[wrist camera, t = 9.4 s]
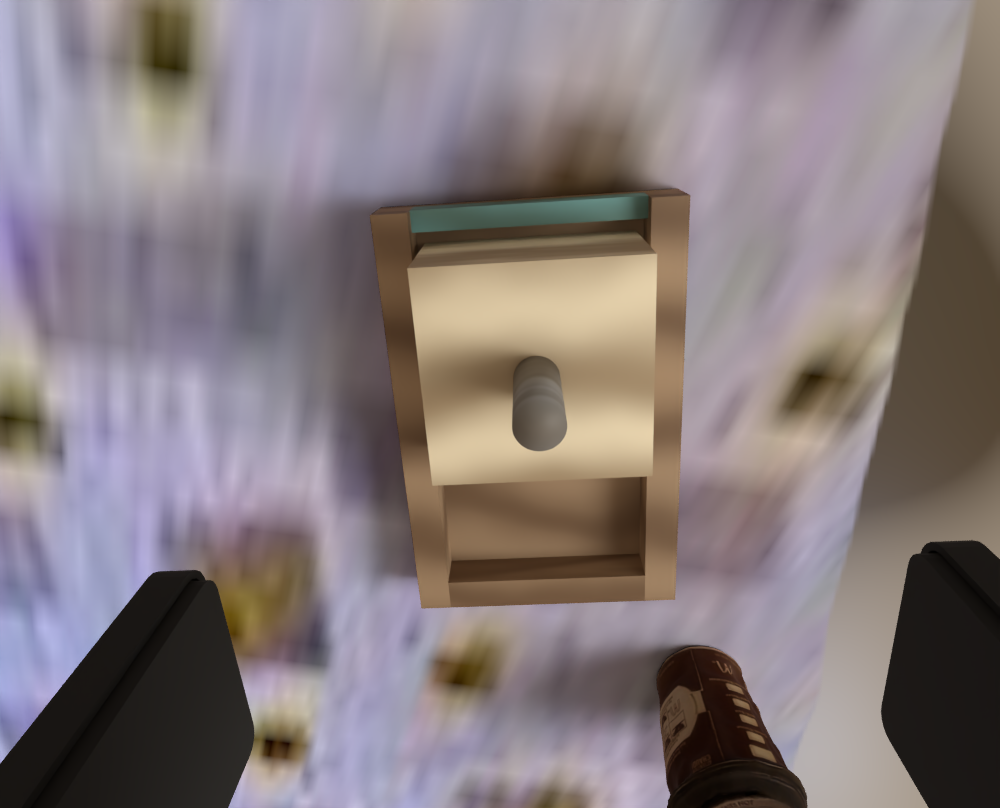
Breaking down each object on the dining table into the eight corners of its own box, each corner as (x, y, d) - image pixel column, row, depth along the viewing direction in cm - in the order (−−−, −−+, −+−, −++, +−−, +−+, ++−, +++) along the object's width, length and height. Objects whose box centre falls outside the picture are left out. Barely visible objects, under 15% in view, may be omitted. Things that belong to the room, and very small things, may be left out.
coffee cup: (638, 720, 56) (670, 889, 44) (637, 637, 52) (671, 793, 40) (750, 715, 55) (814, 884, 43) (756, 631, 52) (827, 787, 40)
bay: (380, 207, 41) (369, 215, 38) (677, 188, 40) (690, 195, 37) (427, 578, 51) (421, 608, 48) (665, 569, 50) (675, 599, 47)
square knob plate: (425, 243, 41) (385, 299, 29) (635, 230, 40) (684, 282, 28) (445, 431, 45) (417, 548, 33) (633, 422, 45) (674, 538, 33)
